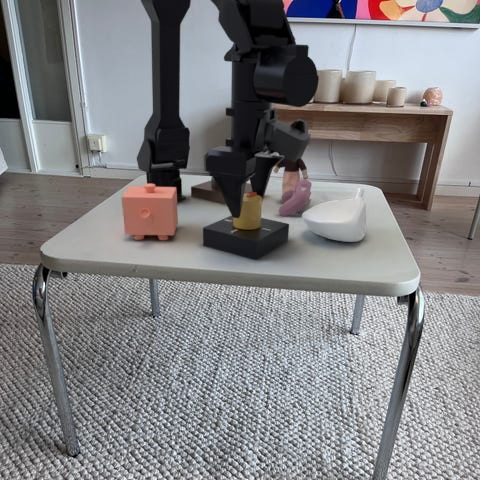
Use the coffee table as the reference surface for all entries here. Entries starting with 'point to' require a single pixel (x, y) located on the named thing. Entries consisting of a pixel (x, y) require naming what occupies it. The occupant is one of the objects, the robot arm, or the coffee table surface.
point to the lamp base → (212, 191)
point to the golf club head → (339, 218)
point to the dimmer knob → (249, 212)
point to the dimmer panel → (245, 237)
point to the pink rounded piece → (296, 198)
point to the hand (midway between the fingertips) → (247, 209)
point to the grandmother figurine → (291, 173)
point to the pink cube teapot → (150, 211)
